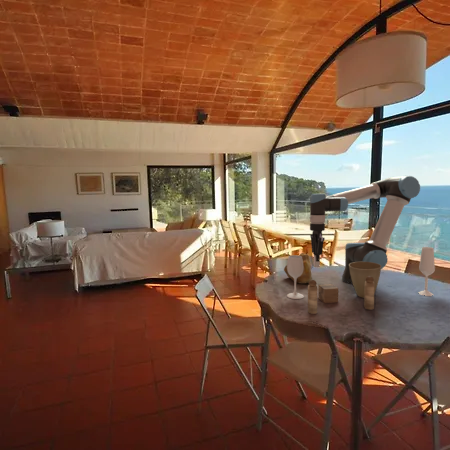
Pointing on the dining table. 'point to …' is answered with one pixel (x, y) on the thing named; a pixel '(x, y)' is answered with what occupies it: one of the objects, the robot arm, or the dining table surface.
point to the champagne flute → (427, 266)
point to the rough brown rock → (306, 273)
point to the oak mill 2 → (369, 293)
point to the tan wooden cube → (328, 293)
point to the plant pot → (364, 275)
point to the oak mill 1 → (312, 297)
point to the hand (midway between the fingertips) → (316, 266)
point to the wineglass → (295, 273)
